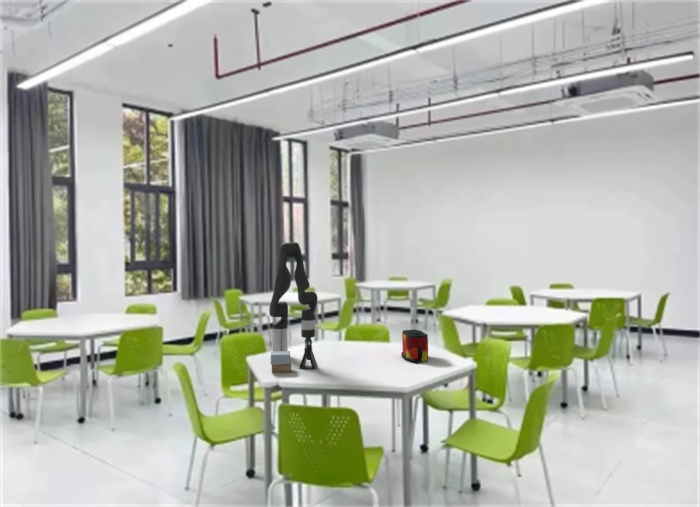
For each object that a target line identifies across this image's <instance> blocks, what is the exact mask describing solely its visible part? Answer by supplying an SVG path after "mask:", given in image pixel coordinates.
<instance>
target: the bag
mask: <svg viewBox="0 0 700 507" xmlns="http://www.w3.org/2000/svg"><path fill="white" fill-rule="evenodd" d="M401 332H402V334H401V336H402V337H401V339H402V344H401V345H402V352H401V356H400V357H401V358H402V359H403V360H404V361H406V362H408V363H411V364H420V363H427V362H428V361H429V337H428V333H426V332H424V331H423V330H419V329H405V330H402V331H401Z"/></svg>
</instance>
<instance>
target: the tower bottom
mask: <svg viewBox="0 0 700 507" xmlns="http://www.w3.org/2000/svg"><path fill="white" fill-rule="evenodd" d="M272 373H280V374H292V362H291V360H290V364H277V365H271V374H272Z"/></svg>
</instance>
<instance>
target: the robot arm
mask: <svg viewBox="0 0 700 507" xmlns="http://www.w3.org/2000/svg"><path fill="white" fill-rule="evenodd" d="M301 249H302V248H301V246H300V245H299V243H298V242H297V241H292V242H283V243H281V244H280V246H279V252H278V263H277V269H276V270H277V271H276V274H275V281H274V287H273V293H272V297H271V301H270V304H269V316H270V317H272V318H280V319H279V320H277V321H275V322H273V323H272V326H271V327H272V328H271V329H272V330H271V331H272V332H271V334H272V336H271V337H272V338H271V341H272V344H271V345H272V350H271V352H275V351H289V346H288V344H289V343H288V336H289V335H288V333H289V332H288V325H289V324H288V322H289V320H288V319H289V304H288V302H286V301H280V300H281V298H282V297H283V296H284V295H285V294H286V293H287V292H288V291H289V289H290V287H291V285H292V284H291V283H292V274H291V272H290V270H289V268H288V266H287V260H288V259H294V260H295V263H296V266H295V269H294V274H293V277H294V281H295V285H296V288H297V300H298V302H299V304H300V305H302V306H305V305H306V306H307V307H306V308H304V309H302V311H301V324H300V325H301V326H300V327H301V333H300V335H301V338H304V348H305V347H306V350H307V352H306V353H307V360H306V361H310V360H311V352H312V351H313V340H312V339H311V338H315V337H316V322H315V316H316V314H315V312H316V308H317V304H318V294H317V293H316V292H315V291H306V290H308V289H309V288H311V287H310V286H311V285H310V281H309V279H308V278H309V277H308V276H307V273H306V269H305V263H304V259H303V255H302V250H301ZM308 349H310V350H308ZM311 349H312V351H311Z"/></svg>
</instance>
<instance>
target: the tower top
mask: <svg viewBox="0 0 700 507" xmlns="http://www.w3.org/2000/svg"><path fill="white" fill-rule="evenodd" d="M290 361H291V350H288V351H275V352H272V351H271V352H270V365H271V366H272V365H277V364H290Z"/></svg>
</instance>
